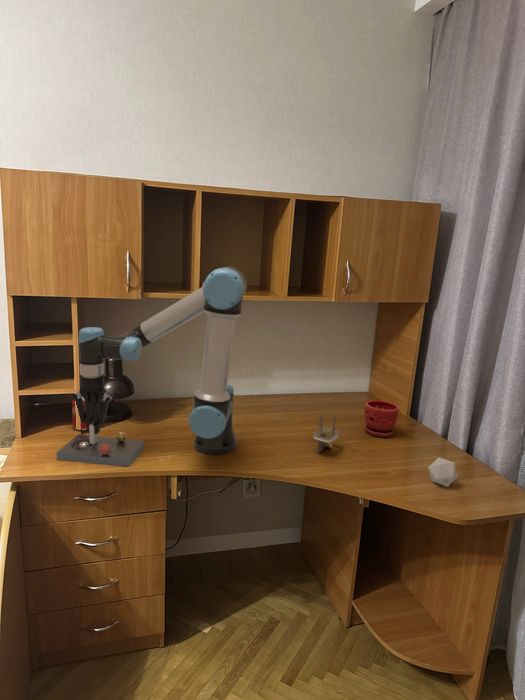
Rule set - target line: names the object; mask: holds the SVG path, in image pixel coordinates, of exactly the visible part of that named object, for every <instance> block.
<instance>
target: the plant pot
mask: <svg viewBox="0 0 525 700" xmlns="http://www.w3.org/2000/svg"><path fill="white" fill-rule="evenodd" d="M399 411H400V408H399V406H398V405H397V404H395V403H393V402H389V401H383V400H369V401H366V402H365V406H364V420H365V423H366V424H365V425H364V430H365V431H366V433H368V434H370V435H373V436H376V437H378V438H379V437H383V438H384V437H390V436H392V435H393V434H394V432H395V431H394V428H395V425H396V423H397V421H398V416H399Z"/></svg>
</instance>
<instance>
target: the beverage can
mask: <svg viewBox="0 0 525 700" xmlns="http://www.w3.org/2000/svg"><path fill="white" fill-rule="evenodd" d="M82 399H83V403H84V407H85V410H86V405H85V400H84V398H83V397H82ZM71 405H72V406H71V408H72V412H71V413H72V428H74V429H75V430H76V411H75V400H74V399H73V400H72V404H71ZM81 429H82V431H81V432H83V431H87V424H86V423H84V422H81Z"/></svg>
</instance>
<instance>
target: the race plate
mask: <svg viewBox="0 0 525 700" xmlns="http://www.w3.org/2000/svg"><path fill="white" fill-rule="evenodd" d="M97 440H98V441H97V442H96V443H94V444H90V434H77V435H76V436H74V437H73V438H72V439H71V440H70V441H69V442H66V444H65V445H63V446H62V447H61V448H60V449H58V451H56V460H58V461H67V462H77V463H89V464H97V465H107V466H115V467H116V466H117V467H125V468H127V467H129V466H130V465H131V464H133V461H135V459H136V458H137V457H138V456H139V455H140V454H141V452H142V451H143V450H144V449H145V440H141V439H139V440H138V439H131V438H130V439H127V438H126V439H125V440H124V441H122V442H120V441H118V440H117V439H116V437H107V436H98V435H97ZM81 442H88V443H89V447H85V448H82V447H79V444H80V443H81ZM103 444H108V445H109V446H110V447H111V451H110V453H109V454H107V455H103V454H101V453H100V450H99V449H100V447H101V445H103Z"/></svg>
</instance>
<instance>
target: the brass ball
mask: <svg viewBox="0 0 525 700" xmlns="http://www.w3.org/2000/svg"><path fill="white" fill-rule="evenodd" d="M115 438H116V439H117V440H118V441H120V442H122V441H124V440H125V439H127V434H126V432H124V431H118V432H117V433H116V434H115Z"/></svg>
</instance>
